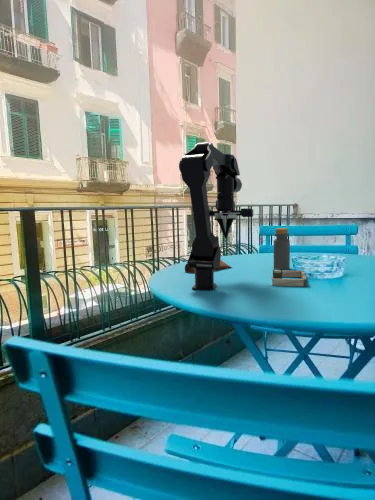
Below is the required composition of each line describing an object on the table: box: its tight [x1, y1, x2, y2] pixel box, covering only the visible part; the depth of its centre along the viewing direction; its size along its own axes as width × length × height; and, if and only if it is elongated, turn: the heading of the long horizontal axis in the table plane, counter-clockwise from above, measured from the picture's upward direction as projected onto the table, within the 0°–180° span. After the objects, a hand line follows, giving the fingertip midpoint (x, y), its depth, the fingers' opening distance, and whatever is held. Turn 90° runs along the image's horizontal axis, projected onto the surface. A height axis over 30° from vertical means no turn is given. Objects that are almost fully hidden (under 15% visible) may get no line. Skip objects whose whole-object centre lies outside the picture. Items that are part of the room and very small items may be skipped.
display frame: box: [271, 270, 308, 287], centre depth 116 cm, size 14×10×2 cm
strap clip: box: [271, 268, 283, 279], centre depth 117 cm, size 8×3×4 cm, turn 173°
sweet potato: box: [184, 259, 233, 275], centre depth 138 cm, size 18×7×7 cm, turn 130°
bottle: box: [273, 227, 291, 271], centre depth 135 cm, size 6×6×15 cm
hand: (226, 237), depth 127 cm, fingers closed
